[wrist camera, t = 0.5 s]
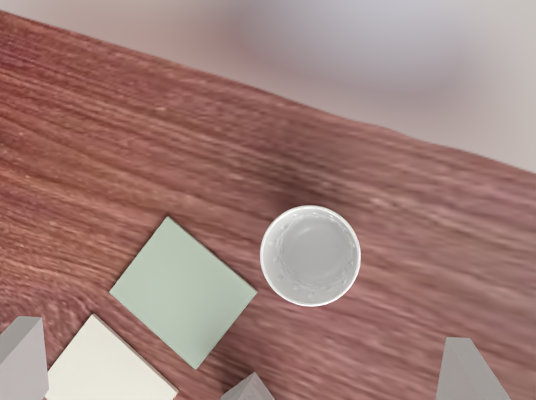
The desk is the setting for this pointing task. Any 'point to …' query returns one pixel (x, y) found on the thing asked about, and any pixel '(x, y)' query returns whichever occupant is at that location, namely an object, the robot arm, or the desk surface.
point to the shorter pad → (183, 292)
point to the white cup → (310, 255)
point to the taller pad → (104, 369)
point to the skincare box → (248, 390)
